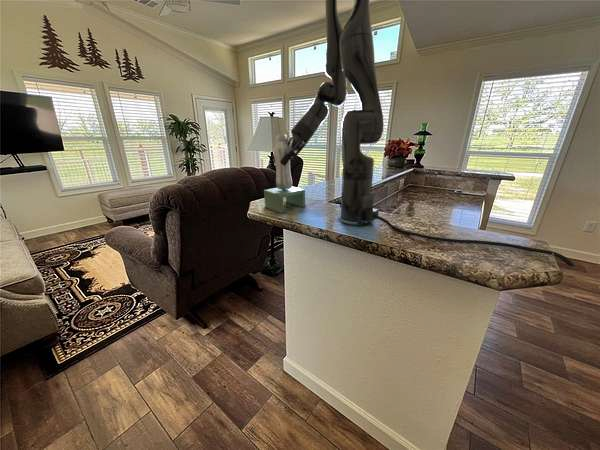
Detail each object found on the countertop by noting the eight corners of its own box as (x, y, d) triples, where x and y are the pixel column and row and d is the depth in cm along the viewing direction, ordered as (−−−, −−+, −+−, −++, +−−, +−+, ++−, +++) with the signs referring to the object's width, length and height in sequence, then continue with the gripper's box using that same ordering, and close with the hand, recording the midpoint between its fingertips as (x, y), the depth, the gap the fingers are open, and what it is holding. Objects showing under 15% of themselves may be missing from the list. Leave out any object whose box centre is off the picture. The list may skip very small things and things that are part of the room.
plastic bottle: (295, 188, 94) (293, 134, 86) (287, 192, 88) (284, 135, 80) (281, 186, 96) (278, 134, 89) (272, 190, 91) (268, 135, 83)
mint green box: (305, 206, 94) (304, 189, 92) (281, 213, 87) (280, 194, 84) (288, 201, 102) (287, 185, 99) (265, 207, 95) (263, 190, 92)
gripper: (291, 121, 92) (265, 154, 91) (309, 119, 80) (278, 157, 79) (303, 135, 96) (278, 167, 96) (322, 135, 84) (293, 172, 84)
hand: (278, 162), depth 87 cm, fingers closed on plastic bottle, 6 cm apart
